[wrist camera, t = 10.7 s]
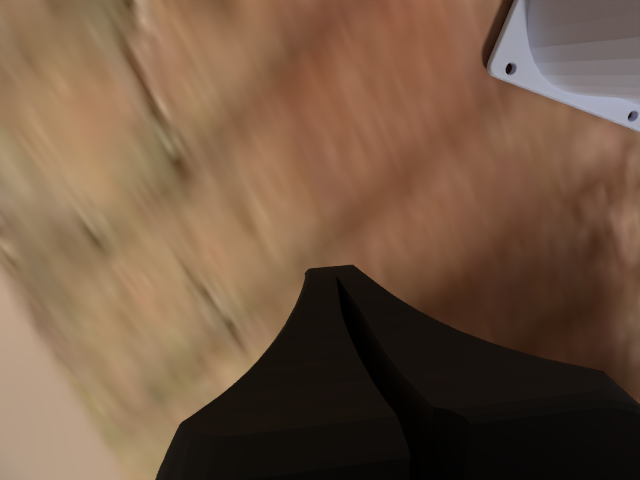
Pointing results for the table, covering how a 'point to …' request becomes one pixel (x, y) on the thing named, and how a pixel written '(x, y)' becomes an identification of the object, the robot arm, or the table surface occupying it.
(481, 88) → the table surface
